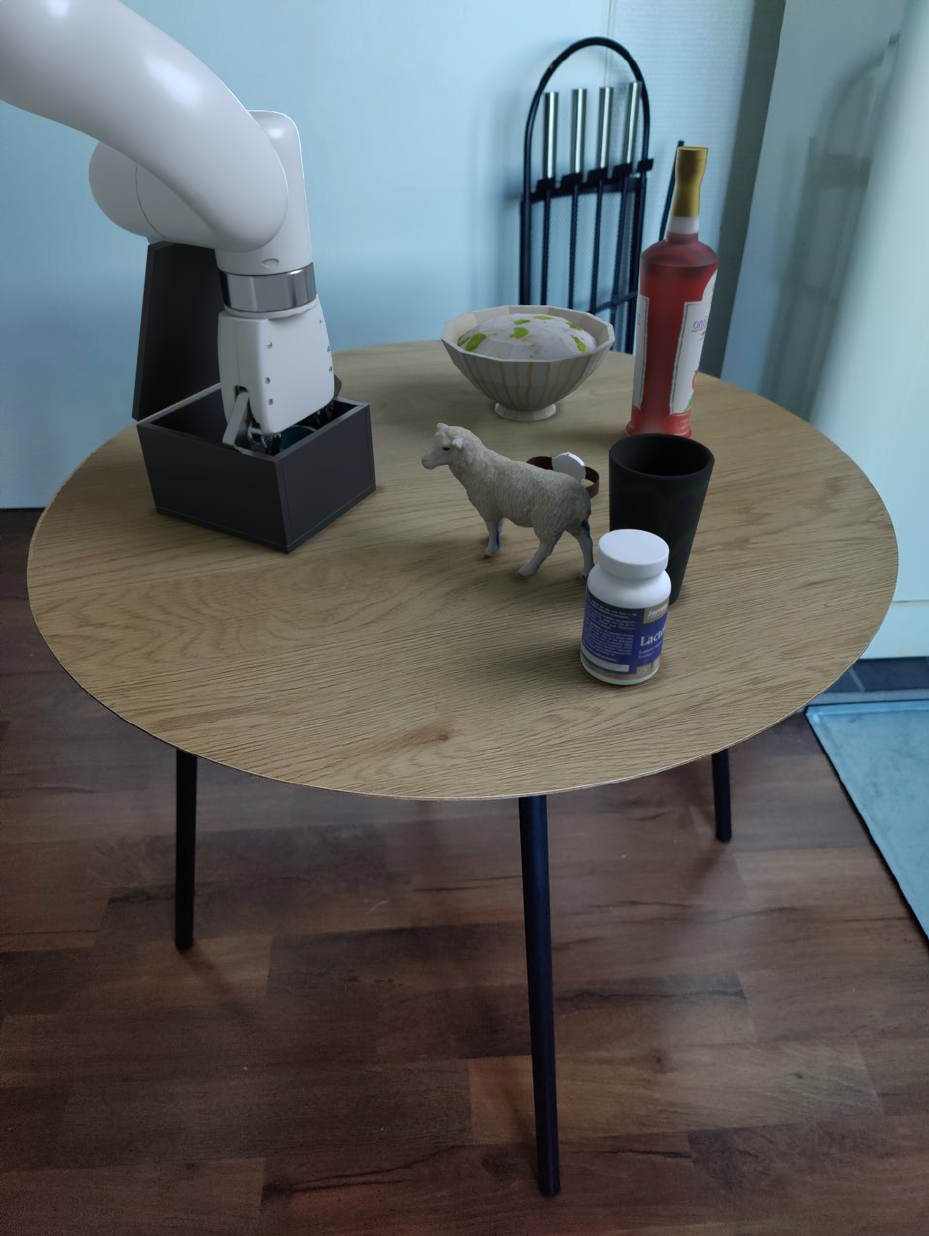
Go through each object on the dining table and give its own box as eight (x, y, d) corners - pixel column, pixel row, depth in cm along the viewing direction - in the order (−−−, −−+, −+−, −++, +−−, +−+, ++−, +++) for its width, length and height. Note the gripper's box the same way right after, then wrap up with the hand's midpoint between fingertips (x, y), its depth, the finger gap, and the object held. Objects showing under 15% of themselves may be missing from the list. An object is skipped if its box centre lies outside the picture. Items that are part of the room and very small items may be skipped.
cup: (650, 629, 69) (669, 488, 62) (577, 588, 74) (587, 453, 67) (712, 591, 73) (736, 455, 66) (638, 554, 78) (653, 423, 71)
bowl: (407, 406, 105) (402, 319, 99) (527, 365, 115) (529, 284, 109) (523, 461, 93) (525, 366, 87) (645, 410, 103) (655, 322, 97)
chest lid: (271, 214, 78) (227, 184, 78) (155, 250, 68) (105, 216, 69) (241, 372, 89) (202, 345, 90) (137, 422, 80) (95, 391, 80)
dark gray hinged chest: (376, 489, 88) (369, 403, 83) (288, 554, 79) (274, 461, 73) (251, 456, 95) (238, 374, 89) (156, 512, 85) (135, 424, 80)
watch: (607, 491, 87) (610, 456, 85) (585, 511, 84) (587, 476, 82) (537, 472, 91) (538, 438, 89) (513, 491, 88) (514, 456, 86)
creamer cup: (272, 510, 81) (263, 454, 78) (264, 483, 86) (255, 429, 82) (331, 501, 83) (325, 445, 79) (320, 475, 87) (314, 421, 84)
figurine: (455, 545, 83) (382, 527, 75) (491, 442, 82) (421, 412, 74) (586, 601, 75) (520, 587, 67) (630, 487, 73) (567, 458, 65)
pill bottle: (651, 695, 63) (668, 575, 57) (571, 678, 65) (580, 559, 59) (665, 648, 67) (683, 531, 61) (590, 632, 69) (600, 517, 63)
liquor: (633, 423, 100) (663, 139, 84) (699, 434, 98) (743, 144, 81) (613, 449, 95) (640, 151, 79) (682, 462, 92) (725, 156, 76)
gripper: (297, 256, 81) (319, 443, 91) (157, 309, 69) (201, 518, 79) (367, 266, 78) (381, 459, 88) (233, 324, 66) (268, 539, 76)
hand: (296, 485), depth 84 cm, fingers closed on creamer cup, 5 cm apart
